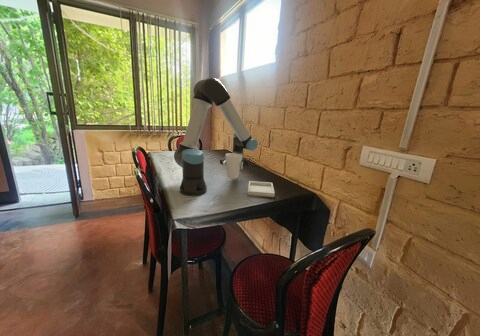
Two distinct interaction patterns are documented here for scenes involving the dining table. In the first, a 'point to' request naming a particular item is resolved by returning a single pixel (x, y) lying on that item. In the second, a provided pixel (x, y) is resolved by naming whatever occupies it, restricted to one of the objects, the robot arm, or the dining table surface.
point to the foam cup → (233, 164)
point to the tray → (261, 189)
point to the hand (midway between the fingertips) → (232, 165)
